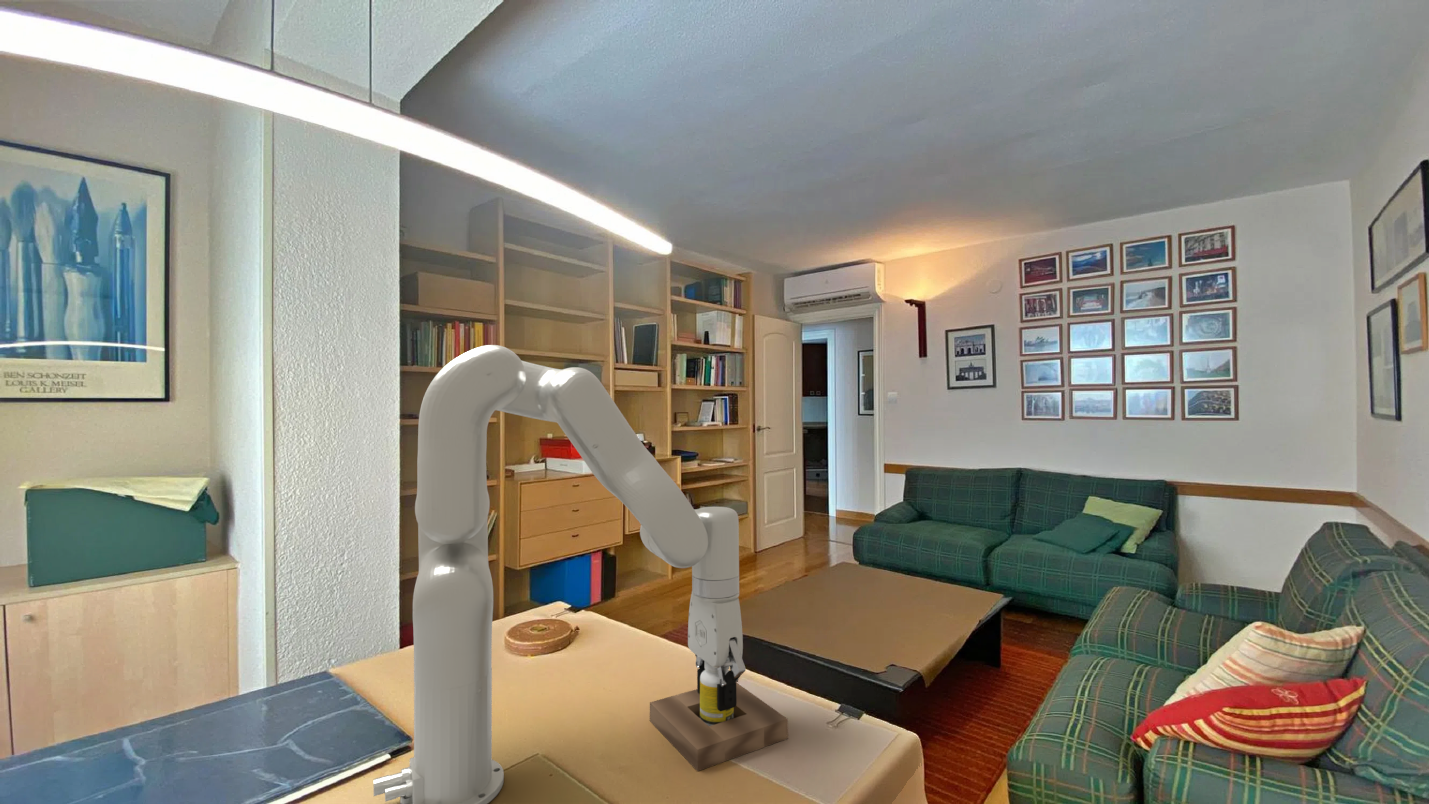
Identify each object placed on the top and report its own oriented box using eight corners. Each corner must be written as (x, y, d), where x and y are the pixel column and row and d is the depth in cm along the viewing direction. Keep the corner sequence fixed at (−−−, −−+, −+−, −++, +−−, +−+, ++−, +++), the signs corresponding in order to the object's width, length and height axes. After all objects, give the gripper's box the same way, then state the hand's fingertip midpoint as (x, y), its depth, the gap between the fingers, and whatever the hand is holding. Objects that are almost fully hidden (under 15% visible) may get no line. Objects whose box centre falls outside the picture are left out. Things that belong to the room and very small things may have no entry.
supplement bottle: (730, 731, 91) (730, 667, 91) (696, 728, 92) (696, 664, 92) (736, 714, 97) (736, 653, 97) (704, 710, 98) (703, 650, 98)
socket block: (697, 771, 83) (697, 749, 83) (649, 720, 97) (649, 702, 97) (787, 738, 92) (787, 718, 92) (732, 696, 105) (731, 679, 105)
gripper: (670, 576, 100) (671, 684, 100) (724, 604, 85) (725, 731, 85) (708, 570, 104) (709, 674, 104) (766, 595, 89) (767, 717, 89)
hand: (716, 698), depth 94 cm, fingers closed on supplement bottle, 5 cm apart
